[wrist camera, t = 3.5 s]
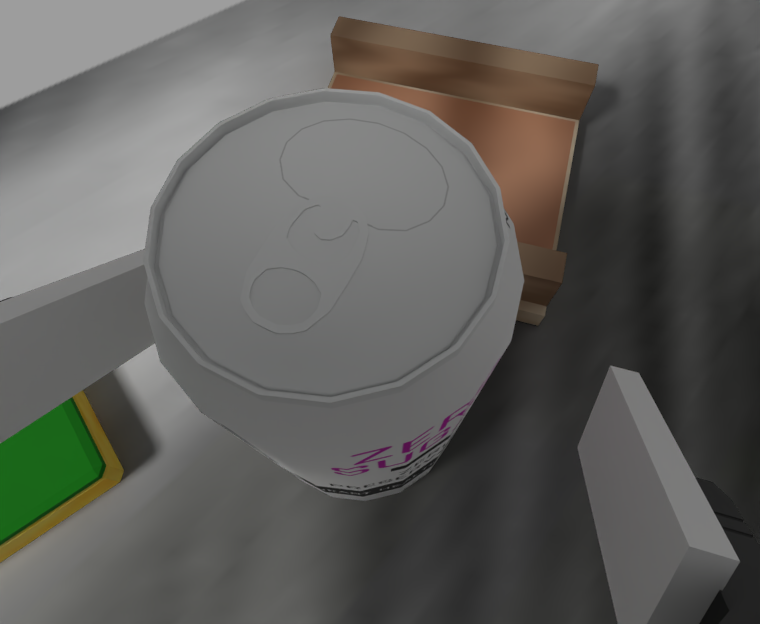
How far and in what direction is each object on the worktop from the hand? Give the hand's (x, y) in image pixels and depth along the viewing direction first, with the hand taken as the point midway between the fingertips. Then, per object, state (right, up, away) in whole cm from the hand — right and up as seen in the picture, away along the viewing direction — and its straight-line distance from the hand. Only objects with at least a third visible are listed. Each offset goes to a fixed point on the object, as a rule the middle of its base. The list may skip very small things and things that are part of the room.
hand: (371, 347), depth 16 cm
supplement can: (0, -3, +9) cm, 9 cm away
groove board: (+3, +8, +13) cm, 16 cm away
